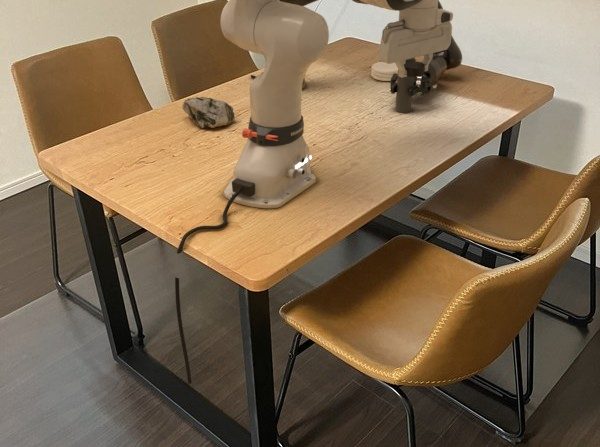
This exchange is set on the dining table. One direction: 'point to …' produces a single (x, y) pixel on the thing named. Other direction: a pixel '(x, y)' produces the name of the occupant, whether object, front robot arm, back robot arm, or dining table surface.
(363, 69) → the dining table surface
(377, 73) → the cream short cylinder
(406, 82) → the brown cylindrical canister
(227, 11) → the front robot arm
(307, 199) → the dining table surface
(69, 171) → the dining table surface
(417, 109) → the dining table surface
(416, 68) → the lid
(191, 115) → the rock
